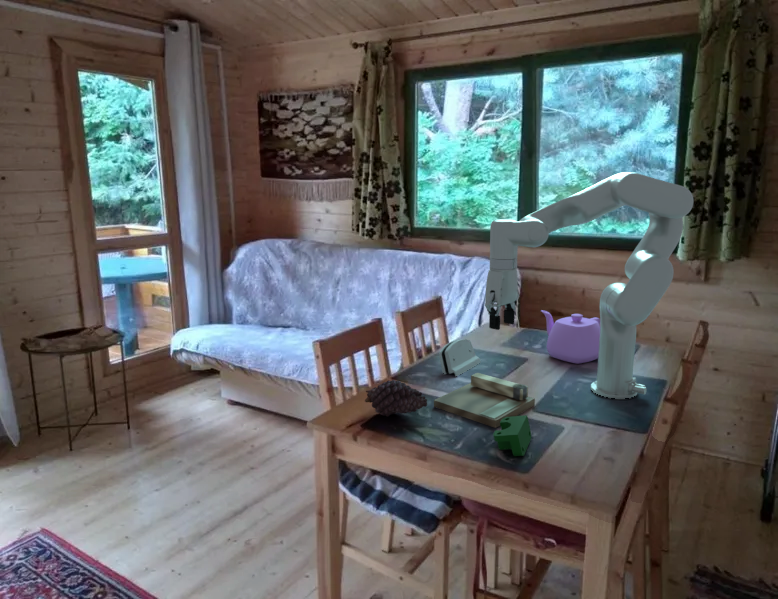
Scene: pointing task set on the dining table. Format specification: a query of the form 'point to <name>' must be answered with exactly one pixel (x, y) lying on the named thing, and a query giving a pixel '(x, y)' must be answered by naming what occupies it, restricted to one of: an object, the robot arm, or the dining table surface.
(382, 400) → the pine cone
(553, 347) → the teapot
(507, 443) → the clamp
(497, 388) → the folding leg
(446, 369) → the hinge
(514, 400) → the stool seat
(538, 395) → the dining table surface
